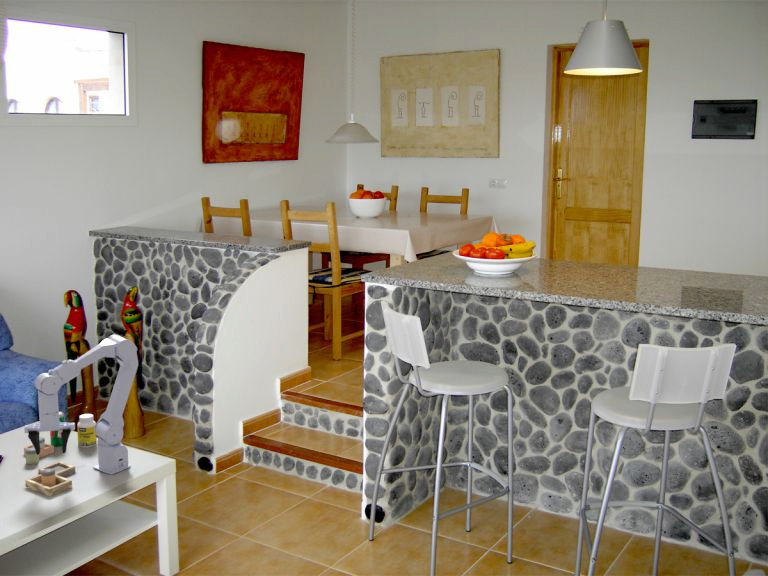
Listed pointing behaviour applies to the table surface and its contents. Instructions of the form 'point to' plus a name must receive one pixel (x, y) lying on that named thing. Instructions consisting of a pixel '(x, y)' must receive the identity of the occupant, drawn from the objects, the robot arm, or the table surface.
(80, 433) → the pill bottle
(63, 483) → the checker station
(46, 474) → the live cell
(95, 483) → the table surface
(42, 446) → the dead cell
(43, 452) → the copper square frame
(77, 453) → the table surface
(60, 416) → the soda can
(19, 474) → the table surface
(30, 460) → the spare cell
